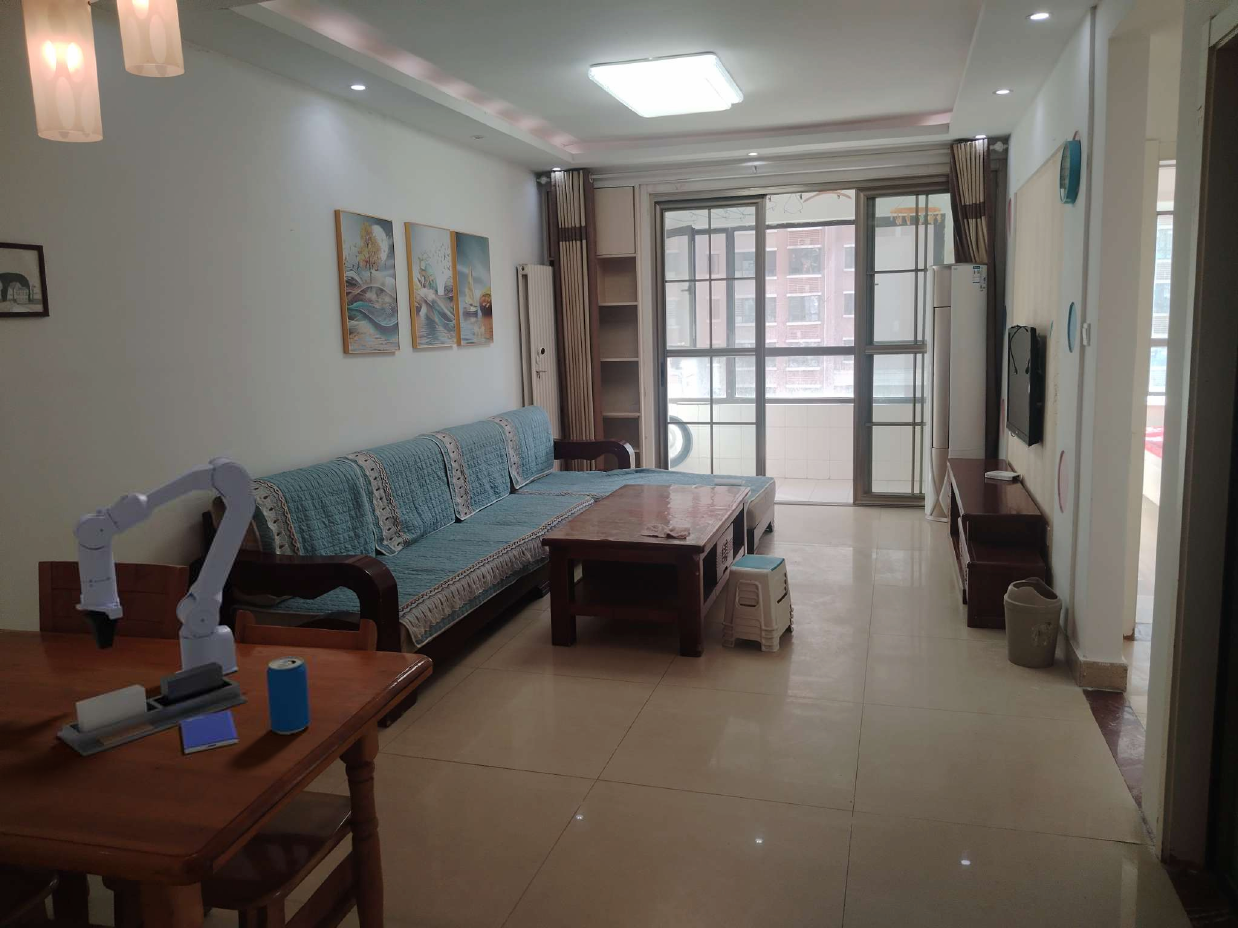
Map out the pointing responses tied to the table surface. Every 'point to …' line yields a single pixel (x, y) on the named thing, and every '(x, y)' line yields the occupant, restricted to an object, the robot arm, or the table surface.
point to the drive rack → (163, 709)
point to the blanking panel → (111, 708)
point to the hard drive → (208, 731)
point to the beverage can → (288, 695)
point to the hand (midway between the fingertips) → (105, 647)
